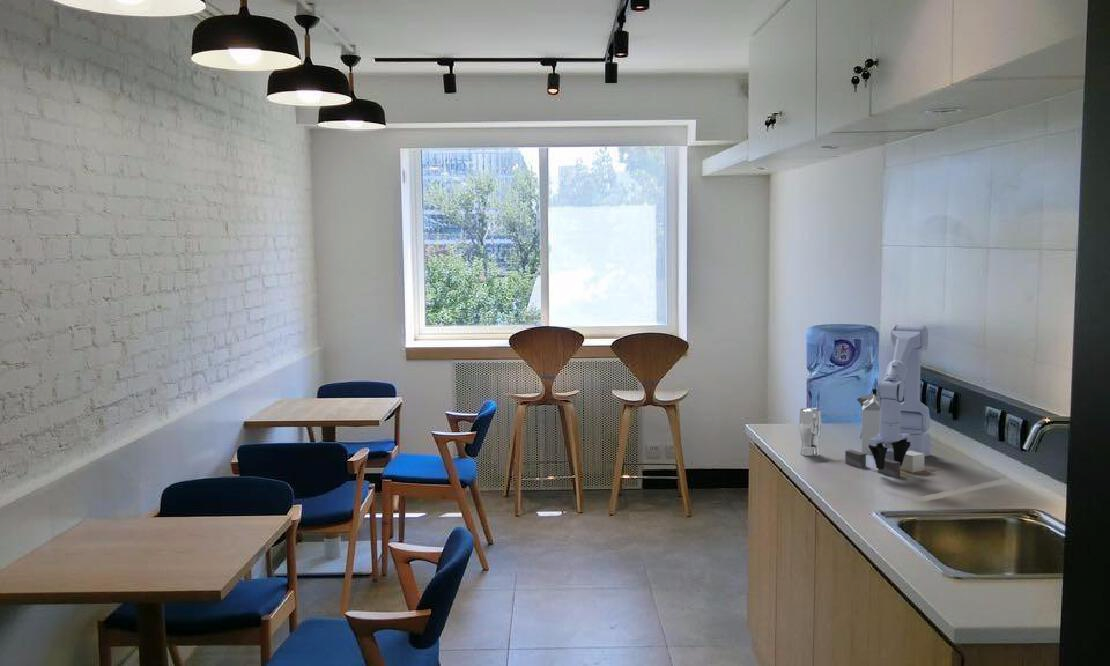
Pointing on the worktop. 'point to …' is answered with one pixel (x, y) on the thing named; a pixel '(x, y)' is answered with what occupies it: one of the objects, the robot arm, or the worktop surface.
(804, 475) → the worktop surface
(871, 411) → the milk carton
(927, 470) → the walnut strip
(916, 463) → the ceramic block
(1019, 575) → the worktop surface
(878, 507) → the worktop surface
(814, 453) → the silver drinking tumbler
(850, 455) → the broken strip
